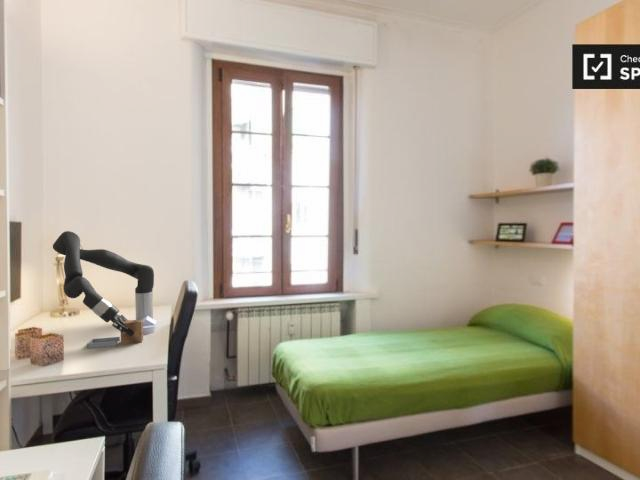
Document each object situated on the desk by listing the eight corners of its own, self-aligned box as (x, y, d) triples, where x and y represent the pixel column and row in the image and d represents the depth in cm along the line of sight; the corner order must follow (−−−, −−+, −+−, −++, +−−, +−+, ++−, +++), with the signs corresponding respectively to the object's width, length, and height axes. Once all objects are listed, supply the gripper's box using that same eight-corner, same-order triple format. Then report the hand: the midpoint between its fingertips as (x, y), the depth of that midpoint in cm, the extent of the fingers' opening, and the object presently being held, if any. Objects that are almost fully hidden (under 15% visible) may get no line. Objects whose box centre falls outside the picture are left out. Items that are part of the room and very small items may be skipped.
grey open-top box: (87, 348, 173) (87, 343, 173) (92, 342, 180) (91, 338, 180) (116, 345, 176) (116, 341, 176) (119, 340, 184) (119, 336, 184)
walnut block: (120, 344, 178) (120, 323, 178) (123, 341, 183) (122, 320, 183) (141, 342, 181) (141, 321, 181) (143, 339, 186) (142, 319, 185)
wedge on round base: (138, 328, 206) (135, 335, 194) (138, 316, 206) (135, 322, 193) (156, 327, 209) (154, 333, 197) (156, 315, 209) (154, 320, 196)
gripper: (103, 312, 184) (130, 335, 188) (95, 320, 171) (125, 343, 175) (114, 301, 186) (142, 323, 190) (108, 307, 172) (137, 331, 176)
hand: (133, 333), depth 182 cm, fingers closed on walnut block, 5 cm apart
